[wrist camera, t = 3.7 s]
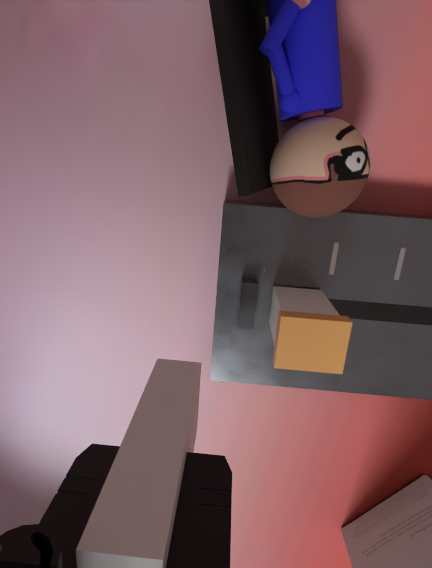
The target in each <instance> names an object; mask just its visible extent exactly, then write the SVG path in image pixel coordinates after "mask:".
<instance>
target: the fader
mask: <svg viewBox="0 0 432 568" xmlns="http://www.w3.org/2000/svg"><path fill="white" fill-rule="evenodd" d="M352 323H353V322H352V321H351V320H350V319H349V317H348V316H340V315H339V314H338V312H337V311H336V309H335V308H334V307H333V305H332V304H331V303H330V301H329V300H328V299H327V297H326V296H325V294H324V293H323V292H322V290H315V289H303V288H291V287H279V286H273V292H272V300H271V308H270V316H269V324H270V329H271V333H272V338H273V342H274V354H273V365H274V368H278V369H289V370H300V371H311V372H323V373H334V374H343V369H344V363H345V358H346V353H347V348H348V343H349V338H350V333H351V328H352Z"/></svg>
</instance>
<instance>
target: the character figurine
mask: <svg viewBox="0 0 432 568" xmlns="http://www.w3.org/2000/svg"><path fill="white" fill-rule="evenodd" d="M209 2H210V9H211V16H212V22H213V29H214V36H215V42H216V49H217V56H218V62H219V69H220V76H221V82H222V89H223V96H224V102H225V109H226V116H227V122H228V129H229V136H230V142H231V149H232V156H233V162H234V169H235V176H236V182H237V189H238V196H244V195H251V194H253V193H256V192H259V191H262V190H264V189H267V188H270V187H273V190H274V192H275V194H276V196H277V197H278V199H279V200H280V201H281V202H282V204H283V205H284V206H286V207H287V208H288V209H290V210H291V211H293V212H295V213H297V214H299V215H302V216H307V217H325V216H329V215H333V214H335V213H337V212H340V211H341V210H343V209H345V208H346V207H348V206H349V205H350V204H351V203H352V202H353V201H354V200H355V199H356V198H357V197H358V196H359V194H360V193H361V192H362V190H363V188H364V186H365V184H366V182H367V179H368V175H369V170H370V156H369V151H368V147H367V145H366V142H365V140H364V138H363V137H362V135H361V134H360V133H359V131H358V130H357V129H356V128H355V127H353V126H352V125H351V124H349V123H348V122H346V121H344V120H341V119H339V118H335V117H329V116H325V114H327V113H330V112H333V111H336V110H339V109H341V108H342V107H343V104H342V89H341V74H340V59H339V44H338V29H337V14H336V0H209ZM265 16H269V25H270V28H269V30H268V32H267V34H266V27H265V18H264V17H265ZM269 61H270V62H269ZM270 64H271V67H272V70H273V72H274V75H275V78H276V87H277V96H278V105H279V114H280V120H281V121H291V120H299V121H302V122H300V123H298V124H296V125H295V126H293V127H292V128H291V129H289V130H288V131H287V132H286V133H285V134H284V135H283V137H282V138H281V139H280V140H278V131H277V123H276V114H275V105H274V96H273V88H272V79H271V70H270Z"/></svg>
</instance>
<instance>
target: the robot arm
mask: <svg viewBox="0 0 432 568" xmlns="http://www.w3.org/2000/svg"><path fill="white" fill-rule="evenodd" d="M200 374H201V363H199V362H188V361H177V360H167V359H157V361H156V364H155V366H154V368H153V371H152V373H151V375H150V378H149V380H148V382H147V385H146V387H145V389H144V392H143V394H142V396H141V399H140V401H139V403H138V406H137V408H136V410H135V413H134V415H133V417H132V420H131V422H130V425H129V427H128V429H127V432H126V434H125V436H124V439H123V441H122V443H121V446H120V447H119V446H109V445H100V444H91V445H90V446H89V447H88V448H87V449H86V450H84V451H83V452H82V453H81V454H80V455H79V456H78V457H76V459H75V461H74V462H73V464H72V466H71V468H70V470H69V471H68V473H67V475H66V479H64V480H63V482H62V484H61V486H60V487H59V489H58V493H57V494H56V495H55V496H54V498H53V500H52V502H51V503H50V505H49V507H48V509H47V511H46V512H45V514H44V516H43V518H42V519H41V521H40V523H39V524H35V525H23V526H20V527H17V528H15V529H12V530H9V531H7V532H5V533H4V534H2V535H1V536H0V568H230V540H231V492H232V471H231V469H230V467H229V465H228V463H227V460H226V458H225V456H220V455H210V454H200V453H193V450H194V444H195V438H196V432H197V420H198V405H199V390H200Z"/></svg>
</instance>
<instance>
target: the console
mask: <svg viewBox="0 0 432 568" xmlns="http://www.w3.org/2000/svg"><path fill="white" fill-rule="evenodd" d="M273 286H279V287H291V288H303V289H315V290H322V292H323V293H324V294H325V296H326V297H327V299H328V300H329V301H330V303H331V304H332V305H333V307H334V308H335V309H336V311H337V312H338V314H339V315H340V316H348V317H349V319H350V320H351V321H352V322H353V323H352V328H351V333H350V338H349V343H348V348H347V353H346V358H345V363H344V369H343V374H334V373H323V372H311V371H300V370H289V369H278V368H274V365H273V354H274V342H273V338H272V333H271V329H270V324H269V316H270V308H271V300H272V292H273ZM210 380H217V381H228V382H239V383H250V384H261V385H272V386H283V387H294V388H305V389H316V390H327V391H338V392H349V393H361V394H372V395H383V396H394V397H405V398H416V399H427V400H432V217H426V216H413V215H400V214H387V213H374V212H361V211H348V210H341V211H340V212H337V213H335V214H333V215H329V216H325V217H307V216H302V215H299V214H297V213H295V212H293V211H291V210H290V209H288V208H287V207H286V206H283V205H270V204H257V203H244V202H231V201H224V204H223V217H222V230H221V243H220V257H219V270H218V283H217V296H216V309H215V323H214V336H213V349H212V362H211V375H210Z"/></svg>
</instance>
